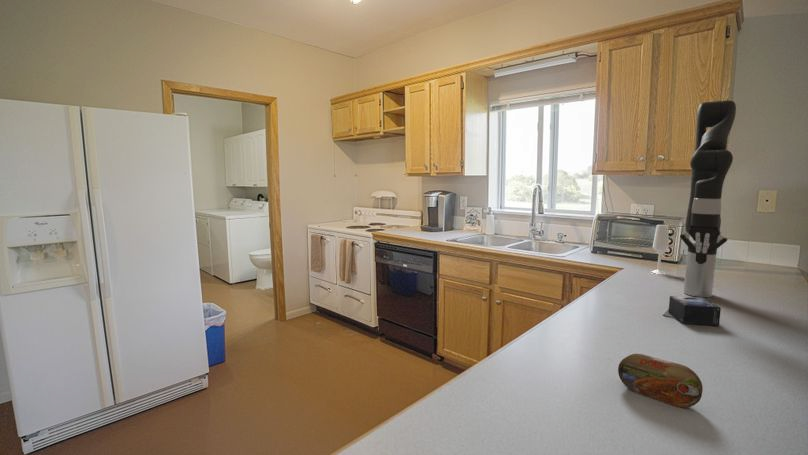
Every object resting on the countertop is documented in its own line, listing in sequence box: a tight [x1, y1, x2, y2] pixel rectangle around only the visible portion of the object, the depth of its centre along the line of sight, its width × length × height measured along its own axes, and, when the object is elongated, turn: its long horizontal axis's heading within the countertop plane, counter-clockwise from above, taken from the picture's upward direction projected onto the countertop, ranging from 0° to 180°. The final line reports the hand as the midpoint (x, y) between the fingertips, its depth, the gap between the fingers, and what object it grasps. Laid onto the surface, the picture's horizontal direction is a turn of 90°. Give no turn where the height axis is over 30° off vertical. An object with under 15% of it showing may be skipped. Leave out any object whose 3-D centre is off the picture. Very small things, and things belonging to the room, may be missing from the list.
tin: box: [617, 353, 704, 408], centre depth 82 cm, size 15×3×8 cm, turn 46°
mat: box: [662, 308, 676, 319], centre depth 133 cm, size 14×10×1 cm
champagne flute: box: [651, 224, 670, 275], centre depth 190 cm, size 7×7×24 cm
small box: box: [667, 295, 722, 327], centre depth 127 cm, size 11×6×10 cm
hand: (700, 263), depth 129 cm, fingers closed
